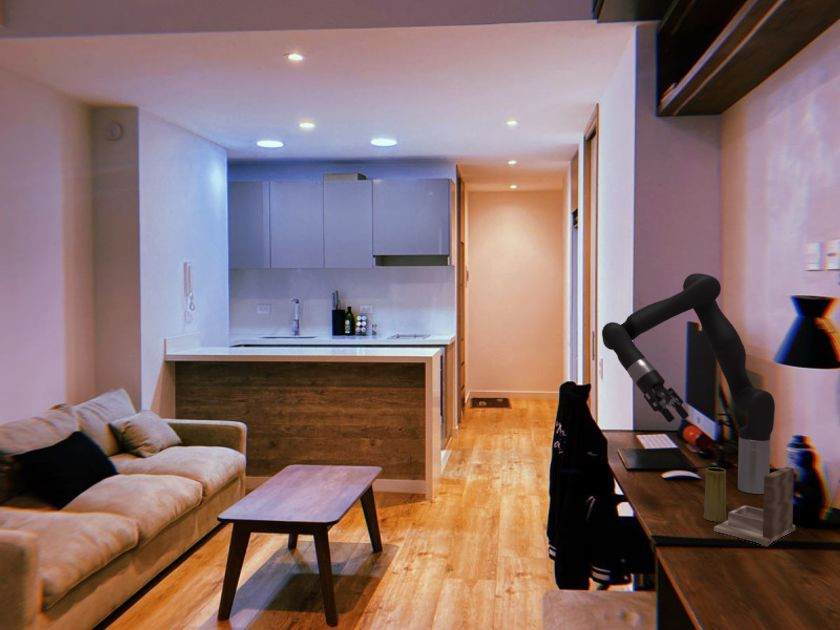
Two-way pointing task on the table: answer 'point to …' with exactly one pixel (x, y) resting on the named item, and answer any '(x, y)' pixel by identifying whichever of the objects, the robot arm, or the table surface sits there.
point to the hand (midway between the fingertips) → (679, 419)
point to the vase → (715, 495)
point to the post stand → (765, 512)
